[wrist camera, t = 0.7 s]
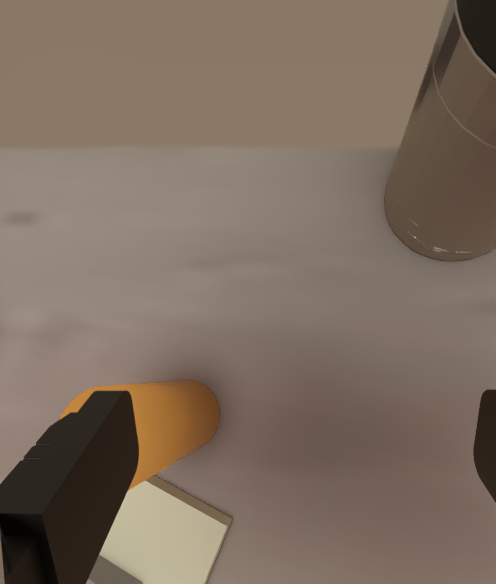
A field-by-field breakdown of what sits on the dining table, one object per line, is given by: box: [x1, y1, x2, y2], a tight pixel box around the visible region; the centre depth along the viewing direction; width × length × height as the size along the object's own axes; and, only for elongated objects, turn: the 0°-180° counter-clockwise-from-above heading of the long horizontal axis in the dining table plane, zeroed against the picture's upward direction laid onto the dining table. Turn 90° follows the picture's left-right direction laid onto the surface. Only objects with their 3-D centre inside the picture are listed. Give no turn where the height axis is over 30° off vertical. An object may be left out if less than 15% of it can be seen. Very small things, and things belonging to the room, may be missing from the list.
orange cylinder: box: [59, 380, 220, 490], centre depth 25 cm, size 5×5×12 cm
